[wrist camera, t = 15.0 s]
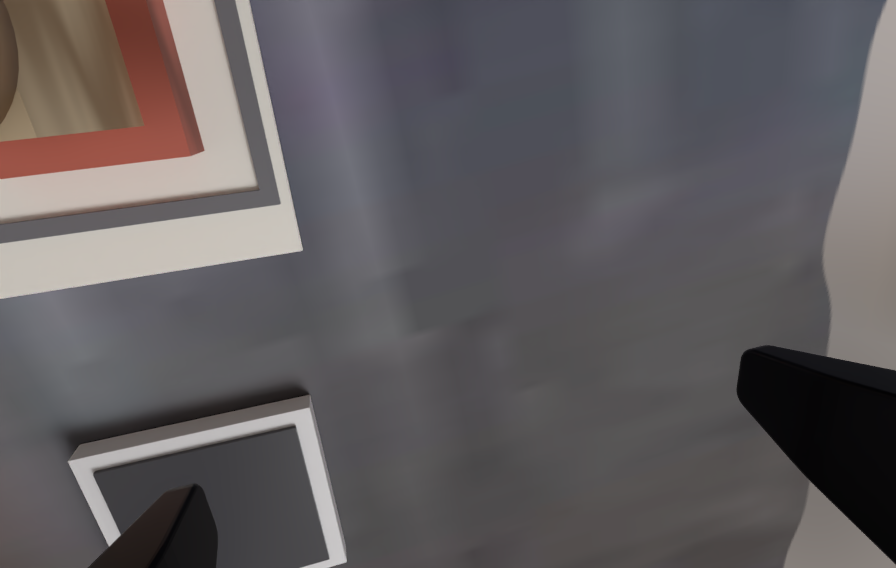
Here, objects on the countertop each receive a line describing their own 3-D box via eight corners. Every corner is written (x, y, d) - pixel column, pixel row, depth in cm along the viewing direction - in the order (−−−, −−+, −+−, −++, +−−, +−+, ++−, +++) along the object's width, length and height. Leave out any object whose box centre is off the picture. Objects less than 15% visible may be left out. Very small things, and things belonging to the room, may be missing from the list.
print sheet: (302, 248, 19) (302, 252, 18) (-24, 300, 17) (-33, 305, 16) (201, -221, 14) (197, -232, 13) (-287, -234, 12) (-312, -248, 11)
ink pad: (345, 544, 24) (346, 565, 23) (151, 599, 23) (143, 624, 21) (309, 394, 21) (309, 410, 20) (79, 444, 19) (65, 464, 18)
